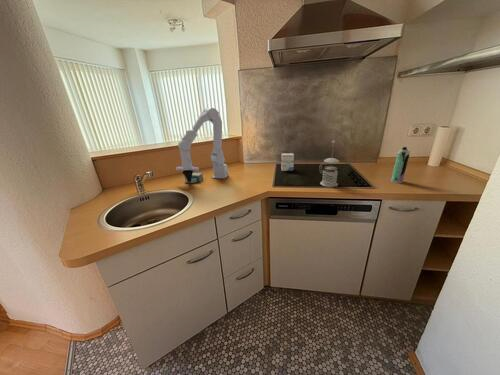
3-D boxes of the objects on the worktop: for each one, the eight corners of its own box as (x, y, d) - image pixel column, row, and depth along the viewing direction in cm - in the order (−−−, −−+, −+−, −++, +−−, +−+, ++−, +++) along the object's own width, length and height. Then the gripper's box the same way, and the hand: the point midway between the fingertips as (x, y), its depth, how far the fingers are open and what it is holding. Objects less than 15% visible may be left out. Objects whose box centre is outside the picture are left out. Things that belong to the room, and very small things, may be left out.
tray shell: (199, 180, 134) (199, 176, 133) (195, 182, 128) (194, 179, 128) (190, 179, 136) (189, 176, 135) (185, 182, 130) (184, 178, 129)
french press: (331, 188, 112) (336, 142, 103) (314, 182, 121) (317, 140, 112) (341, 183, 118) (347, 140, 108) (324, 179, 126) (328, 138, 117)
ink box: (292, 168, 149) (293, 153, 145) (293, 170, 145) (294, 154, 140) (281, 168, 150) (281, 153, 146) (281, 170, 146) (281, 154, 141)
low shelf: (203, 179, 135) (202, 173, 134) (199, 182, 131) (198, 175, 129) (189, 178, 137) (188, 172, 136) (185, 181, 133) (184, 175, 131)
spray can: (404, 183, 115) (413, 147, 107) (393, 182, 116) (401, 147, 109) (399, 179, 120) (408, 146, 112) (389, 179, 121) (397, 146, 114)
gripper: (172, 161, 121) (175, 183, 126) (194, 162, 118) (197, 184, 123) (178, 159, 127) (181, 179, 132) (199, 159, 124) (202, 180, 129)
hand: (189, 181), depth 128 cm, fingers closed, pressing on tray shell
